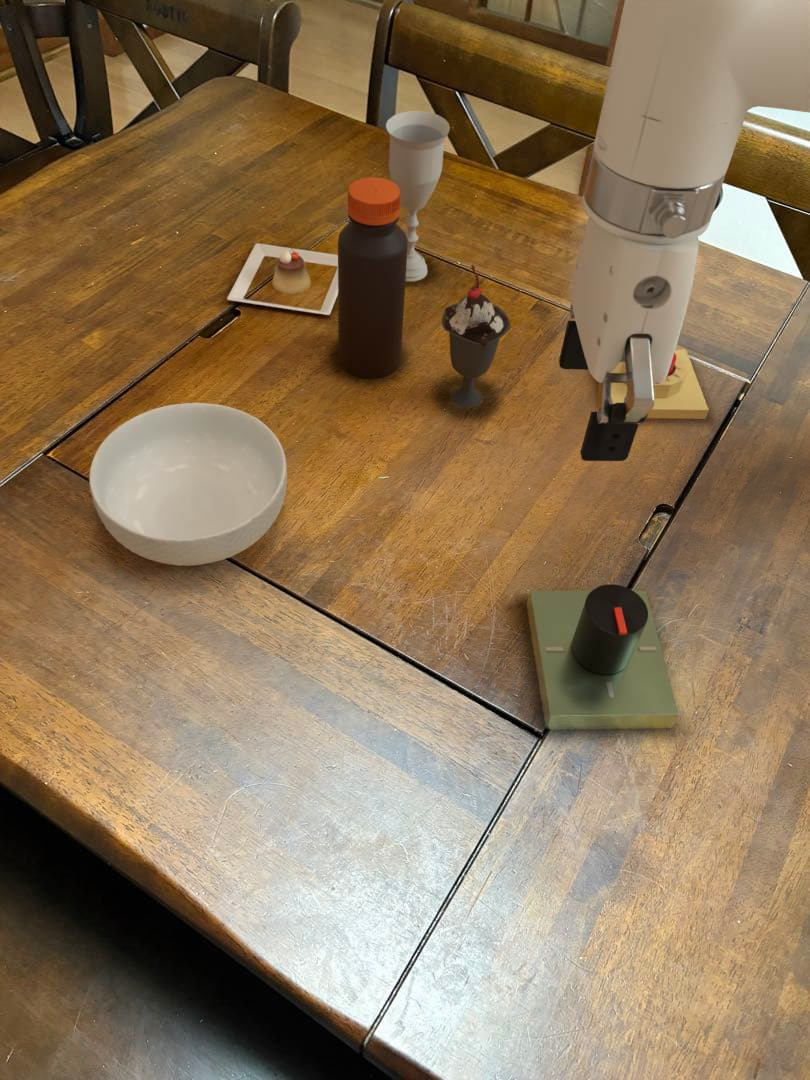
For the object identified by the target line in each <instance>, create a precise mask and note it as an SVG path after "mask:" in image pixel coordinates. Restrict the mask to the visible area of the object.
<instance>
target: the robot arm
mask: <svg viewBox="0 0 810 1080" xmlns="http://www.w3.org/2000/svg"><path fill="white" fill-rule="evenodd" d="M614 44H615V45H614V50H613V53H612V55H613V56H612V59H611V64H610V68H609V73H608V76H607V77H608V78H607V81H606V82H607V83H606V86H605V92H604V97H603V100H602V106H601V110H600V114H599V120H598V124H597V129H596V134H595V139H594V143H593V148H592V152H591V156H590V161H589V167H588V171H587V175H586V180H585V183H584V184H585V185H584V190H583V195H582V198H581V205H582V208H583V211H584V213H585V214H586V216H587V222H586V225H585V229H584V233H583V237H582V241H581V244H580V248H579V253H578V257H577V259H576V264H575V271H574V275H573V282H572V288H571V304H570V307H569V314H570V315H569V316H570V319H571V320H567V323H566V328H565V333H564V337H563V341H562V346H561V350H560V355H559V359H558V363H559V364H558V365H559V367H560V368H561V369H562V370H586V371H587V370H588V372H589V375H591V377H592V378H593V379H594V380H595V381H596V382H597V384H598V385H597V405H596V411H591V412H590V415H589V418H588V423H587V426H586V429H585V433H584V437H583V439H582V444H581V447H580V451H579V453H580V458H581V460H582V461H584V462H624V461H626V460H627V459H628V458H629V455H630V452H631V449H632V446H633V443H634V439H635V437H636V434H637V431H638V427H639V425H642V424H643V423H644V422H645V421H646V419H648V418H647V416H648V413H649V412H650V411H651V410H652V408H653V406H654V388H653V384H661V383H662V382H663V381H664V380H665V379H666V377H667V375H668V372H669V369H670V366H671V363H672V359H673V356H674V353H675V349H676V348H677V347H678V342H679V338H680V335H681V331H682V328H683V325H684V322H685V321H684V320H685V316H686V314H687V309H688V305H689V301H690V297H691V293H692V288H693V284H694V280H695V279H694V278H695V272H696V268H697V260H698V255H699V254H698V253H699V247H700V240H699V237H700V236H702V235H703V234H704V233H705V232H706V231H707V229H708V227H709V225H710V224H711V220H712V217H713V215H714V211H715V208H716V206H717V202H718V199H719V196H720V193H721V190H722V187H723V184H724V181H725V178H726V175H727V174H728V173H727V172H728V169H729V167H730V163H731V160H732V157H733V154H734V151H735V149H736V145H737V143H738V140H739V136H740V134H741V131H742V128H743V125H744V122H745V118H746V116H747V112H748V111H749V110H751V109H754V108H756V107H761V108H768V109H769V108H770V109H777V110H778V109H779V110H788V111H794V112H795V111H796V112H802V113H810V0H624V2H623V8H622V12H621V17H620V22H619V26H618V30H617V36H616V41H615V43H614ZM619 362H625V363H626V373H610V372H612V371H613V369H614V368H615V367H616V366H617V365H618V363H619ZM611 383H627V394H626V397H625V398H624V402H623V403H614V404H610V401H611Z"/></svg>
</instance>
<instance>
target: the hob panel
mask: <svg viewBox="0 0 810 1080" xmlns="http://www.w3.org/2000/svg"><path fill="white" fill-rule="evenodd" d="M591 591H592V590H529V594H528V598H527V601H526V612H527V615H528V616H527V617H528V624H529V630H530V631H529V632H530V636H531V643H532V650H533V655H534V662H535V668H536V669H535V670H536V675H537V681H538V688H539V694H540V695H539V696H540V700H541V707H542V713H543V714H542V715H543V720H544V726H545V730H614V729H615V730H621V729H623V730H625V729H626V730H628V729H630V730H631V729H632V730H633V729H673V726H674V724H675V723H676V721H677V719H678V718H679V710H678V706H677V703H676V699H675V694H674V691H673V688H672V684H671V680H670V676H669V673H668V669H667V665H666V662H665V658H664V654H663V649H662V645H661V642H660V638H659V634H658V631H657V627H656V622H655V619H654V615H653V611H652V608H651V603H650V600H649V597H648V592H647V590H643V589H642V590H633V591H634V592H635V593H637V594H638V595H639V596H640V597H641V598H642V599H643V601H644V602H645V604H646V606H647V609H648V620H647V623H646V625H645V628H644V630H643V632H642V634H641V637H640V639H639V641H638V644H637V646H636V648H635V650H634V653H633V655H632V657H631V660H630V662H629V664H628V665H627V666H626V667H625V668H624V669H623V670H622V671H620V672H618V673H615V674H608V675H604V674H598V673H594V672H592V671H590V670H588V669H586V668H585V667H583V666H582V665H581V664H580V663H579V662H578V661H577V659H576V658H575V656H574V654H573V651H572V639H573V636H574V633H575V630H576V627H577V624H578V622H579V619H580V616H581V613H582V610H583V607H584V604H585V601H586V598H587V596H588V594H589V593H590V592H591Z"/></svg>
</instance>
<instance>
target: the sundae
mask: <svg viewBox="0 0 810 1080" xmlns="http://www.w3.org/2000/svg"><path fill="white" fill-rule="evenodd" d="M470 267H471V268H470V269H471V270H472V272H473V273H474V275H475V282H474V286H472V287H470V289H468V290H467V295H466V296H465V297H463V298H462V299H461V300H460V301H459V302H458V303H453V304H451V305H449V306H447V307H445V309H444V311H443V313H442V318H441V326H442V328H443V330H444V331H446V332H447V333H448V336H449V355H450V361H451V363H450V364H451V367H452V369H453V370H454V371H455V372H456V373H457V374H459V375H460V376H461V377H462V383H461V386H458V387H456V388H454V389H453V390H452V391H451V392H450V395H449V399H450V401H451V402H452V403H453V404H455V406H458V407H461V408H463V409H464V408H465V409H471V408H476V407H478V406H479V405H480V404H481V403H482V402H483V398H484V397H483V393H482V392H480V391H479V390H478V389H476V388H475V379H477V378H479V377H481V376H483V375H484V374H486V373H487V372H489V370H490V367H491V365H492V363H493V361H494V358H495V355H496V352H497V348H498V345H499V342H500V340H501V338H503V337H504V336H505V335H506V334H507V333H508V332H509V331H510V329H511V326H512V324H511V321H510V319H509V317H508V315H507V313H506V312H505V311H504V310H503V309H502V307H500V306H498V305H496V304H494V303H492V302H491V300H490V299H489V298H488V297H487V296H485V295H483V290H482V288H481V287H480V279H479V276H478V274H477V273H476V271H475V269H476V265H475V264H472V265H471V266H470Z"/></svg>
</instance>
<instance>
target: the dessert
mask: <svg viewBox="0 0 810 1080" xmlns="http://www.w3.org/2000/svg"><path fill="white" fill-rule="evenodd" d="M265 257H271V258H277V261H276V264H275V268H274V273H273V277H272V280H271V284H272V287H273V289H275V290H276V291H278V292H280V293H282V294H286V295H287V294H288V295H295V294H300V293H303V292H305V291H307V290H308V289H310V287H311V286H312V279H311V277H310V275H309V271H308V270H307V266H306V263H311V264H317V265H325V266H331V267H337V268H336V271H335V273H334V276H333V278H332V280H331V283H330V285H329V288H328V290H327V293H326V294H325V295H326V296H325V298H324V301H323V303H322V306H321V308H320V309H319V310H318V309H312V308H306V307H300V306H294V305H293V306H292V305H286V304H278V303H273V302H266V301H259V300H252V299H248V298H247V299H246V298H244V297H245V296H246V294H247V293H248V290H249V288H250V286H251V284H252V282H253V280H254V279H255V276H256V274H257V272H258V270H259V268H260V266H261V264H262V262H263V260H264V258H265ZM337 299H338V254H334V253H327V252H320V251H313V250H306V249H300V248H292V247H291V246H289V247H287V246H278V245H272V244H266V243H258V242H256V243H255V244H254V245H253V247H252V250H251V252H250V254H249V255H248V257H247V259H246V261H245V263H244V265H243V267H242V269H241V270H240V273H239V274H238V277H237V279H236V281H235V283H234V284H233V286H232V288H231V290H230V292H229V294H228V295H227V297H226V300H227V301H231V302H239V303H243V304H244V303H245V304H252V305H257V306H265V307H271V308H278V309H285V310H290V311H297V312H298V311H299V312H305V313H311V314H317V315H324V316H330V315H331V313H332V310H333V308H334V305H335V303H336V300H337Z"/></svg>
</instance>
